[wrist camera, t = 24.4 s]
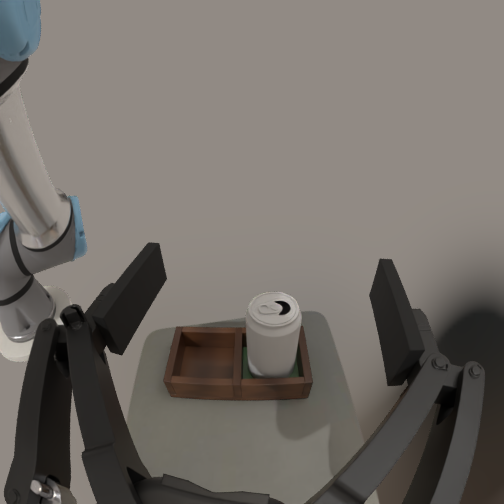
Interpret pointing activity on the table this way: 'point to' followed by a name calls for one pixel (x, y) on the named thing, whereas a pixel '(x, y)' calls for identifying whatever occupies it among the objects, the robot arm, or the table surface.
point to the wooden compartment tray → (228, 368)
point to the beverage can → (272, 335)
